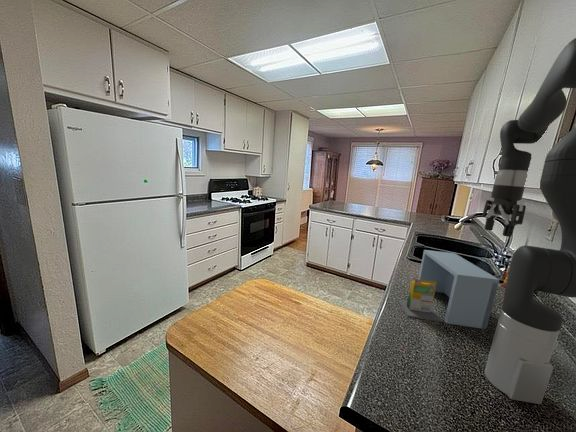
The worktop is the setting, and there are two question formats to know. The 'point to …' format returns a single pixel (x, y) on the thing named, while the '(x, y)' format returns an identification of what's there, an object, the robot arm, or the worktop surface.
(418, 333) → the worktop surface
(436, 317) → the mat
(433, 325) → the worktop surface
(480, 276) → the cubby
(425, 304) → the crayon box
